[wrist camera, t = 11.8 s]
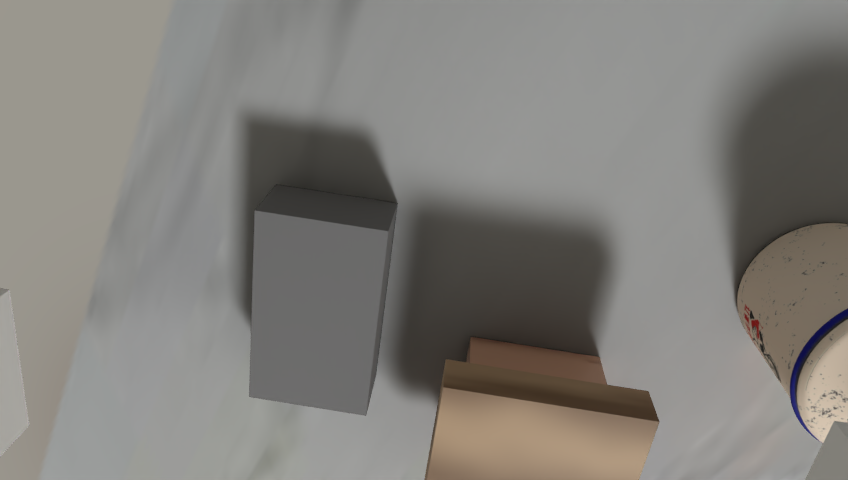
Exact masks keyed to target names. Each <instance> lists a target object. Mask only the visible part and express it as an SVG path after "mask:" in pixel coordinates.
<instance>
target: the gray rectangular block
mask: <svg viewBox="0 0 848 480" xmlns="http://www.w3.org/2000/svg"><path fill="white" fill-rule="evenodd" d="M397 204H398V203H392V202H386V201H379V200H373V199H366V198H360V197H354V196H347V195H341V194H334V193H328V192H321V191H315V190H308V189H302V188H295V187H289V186H283V185H276V186H275V187H274V188H273V189H272V190H271V192H270V193H269V194H268V195H267V196H266V198H265V199H264V200H263V201H262V202H261V203H260V205H259V206H258V207H257V208H256V209H255V214H254V248H253V283H252V317H251V352H250V386H249V397H253V398H259V399H266V400H272V401H278V402H284V403H290V404H297V405H303V406H309V407H315V408H322V409H328V410H334V411H340V412H346V413H353V414H359V415H365V416H366V414H367V410H368V406H369V402H370V398H371V394H372V390H373V385H374V381H375V377H376V371H377V363H378V355H379V347H380V339H381V331H382V323H383V316H384V308H385V300H386V292H387V284H388V276H389V268H390V260H391V252H392V244H393V236H394V228H395V220H396V212H397Z"/></svg>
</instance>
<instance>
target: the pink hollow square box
mask: <svg viewBox="0 0 848 480" xmlns="http://www.w3.org/2000/svg"><path fill="white" fill-rule="evenodd" d="M466 362H467V363H473V364H480V365H486V366H492V367H498V368H505V369H511V370H517V371H524V372H530V373H536V374H542V375H549V376H555V377H561V378H568V379H574V380H580V381H586V382H593V383H599V384H605V385H607V383H606V379H605V375H604V372H603V368H602V364H601V361H600V357H596V356H590V355H584V354H577V353H571V352H565V351H558V350H552V349H546V348H539V347H533V346H527V345H521V344H514V343H508V342H502V341H495V340H489V339H483V338H476V337H470V343H469V348H468V353H467V358H466Z"/></svg>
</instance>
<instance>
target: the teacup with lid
mask: <svg viewBox="0 0 848 480" xmlns="http://www.w3.org/2000/svg"><path fill="white" fill-rule="evenodd" d="M737 307H738V313H739V317H740V320H741V323H742V325H743V327H744V329H745V330H746V332H747V333H748V335H749V336H750V338H751V339H752V341H753V342H754V344H755V346H756V347H757V349H758V350H759V352H760V353H761V355H762V356H763V358H764V359H765V361H766V362H767V364H768V365H769V367H770V368H771V370H772V371H773V373H774V374H775V376H776V377H777V379H778V380H779V382H780V383H781V385H782V386H783V388H784V389H785V391H786V392H787V394H788V395H789V397H790V398H791V403H792V407H793V410H794V412H795V414H796V416H797V418H798V420H799V421H800V423H801V425H802V426H803V427H804V428H805V429H806V431H808V432H809V433H810V434H811V435H812V436H813V437H814V438H816V439H817V440H818V441H820V442H821V443H823V442H824V440H825V438H826V436H827V434H828V432H829V430H830V428H831V426H832V424H833V422H834V421H839V422H845V423H848V224H841V223H823V224H816V225H810V226H806V227H802V228H800V229H797V230H794V231H792V232H789V233H787V234H785V235H783V236H781V237H780V238H778V239H776V240H775V241H773V242H772V243H771V244H769V245H768V246H767V247H765V248H764V249H763V250H762V251H761V252H760V253H759V254H758V255H757V256H756V257H755V258H754V260H753V261H752V262H751V263H750V265H749V266H748V268H747V270H746V271H745V273H744V275H743V278H742V280H741V283H740V286H739V290H738V296H737Z"/></svg>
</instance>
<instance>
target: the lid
mask: <svg viewBox="0 0 848 480" xmlns="http://www.w3.org/2000/svg"><path fill="white" fill-rule="evenodd" d="M658 424H659V419H658V417H657V414H656V411H655V408H654V406H653V403H652V400H651V397H650V394H649V392H648V391H643V390H637V389H630V388H624V387H618V386H611V385H605V384H599V383H593V382H586V381H580V380H574V379H568V378H561V377H555V376H549V375H542V374H536V373H530V372H524V371H517V370H511V369H505V368H498V367H492V366H486V365H480V364H473V363H467V362H461V361H454V360H448V359H446V361H445V367H444V372H443V378H442V384H441V389H440V395H439V401H438V406H437V412H436V418H435V423H434V429H433V435H432V440H431V446H430V452H429V457H428V463H427V469H426V474H425V480H639V478H640V475H641V472H642V470H643V467H644V464H645V461H646V458H647V456H648V453H649V450H650V447H651V444H652V441H653V439H654V436H655V433H656V430H657V427H658Z"/></svg>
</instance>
